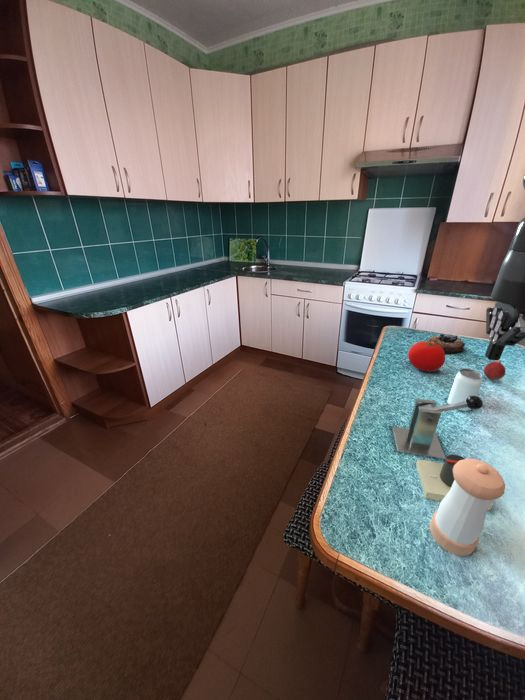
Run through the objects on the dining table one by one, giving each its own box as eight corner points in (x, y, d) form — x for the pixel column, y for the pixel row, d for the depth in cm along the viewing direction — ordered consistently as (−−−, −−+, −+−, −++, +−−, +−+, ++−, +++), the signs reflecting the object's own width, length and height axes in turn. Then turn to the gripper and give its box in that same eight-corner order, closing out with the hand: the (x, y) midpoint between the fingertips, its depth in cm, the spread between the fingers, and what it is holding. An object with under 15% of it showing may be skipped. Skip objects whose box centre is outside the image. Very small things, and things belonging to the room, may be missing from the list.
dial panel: (471, 477, 66) (475, 467, 65) (488, 514, 59) (493, 504, 57) (414, 467, 69) (417, 458, 68) (423, 501, 61) (427, 491, 60)
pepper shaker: (482, 557, 52) (525, 484, 43) (443, 561, 51) (478, 488, 43) (455, 517, 58) (487, 447, 49) (420, 521, 58) (446, 450, 49)
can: (445, 398, 93) (456, 366, 88) (469, 403, 91) (482, 370, 85) (447, 409, 88) (458, 376, 83) (472, 415, 85) (486, 381, 80)
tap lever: (480, 402, 68) (478, 391, 67) (486, 411, 65) (483, 399, 64) (420, 413, 73) (417, 403, 72) (423, 422, 70) (420, 411, 69)
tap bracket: (434, 436, 78) (447, 397, 72) (444, 462, 71) (460, 421, 65) (391, 430, 81) (400, 392, 75) (396, 454, 73) (407, 414, 67)
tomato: (440, 379, 103) (448, 353, 98) (403, 370, 109) (409, 345, 104) (442, 365, 112) (449, 340, 107) (407, 357, 117) (413, 334, 113)
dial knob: (460, 472, 64) (468, 455, 62) (469, 491, 60) (477, 473, 58) (436, 468, 65) (443, 451, 63) (443, 486, 61) (450, 469, 59)
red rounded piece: (480, 381, 102) (488, 361, 98) (481, 373, 106) (488, 354, 102) (501, 386, 99) (510, 366, 95) (500, 378, 103) (509, 359, 99)
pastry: (467, 352, 121) (471, 339, 118) (442, 355, 119) (446, 342, 116) (447, 341, 131) (450, 329, 128) (423, 344, 128) (427, 332, 126)
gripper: (572, 286, 47) (529, 376, 55) (527, 269, 58) (497, 346, 66) (518, 284, 49) (484, 372, 57) (485, 268, 60) (460, 343, 68)
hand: (491, 358), depth 61 cm, fingers closed
